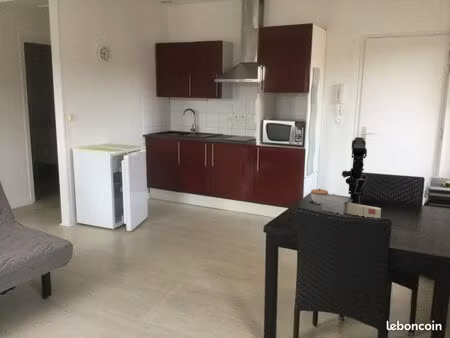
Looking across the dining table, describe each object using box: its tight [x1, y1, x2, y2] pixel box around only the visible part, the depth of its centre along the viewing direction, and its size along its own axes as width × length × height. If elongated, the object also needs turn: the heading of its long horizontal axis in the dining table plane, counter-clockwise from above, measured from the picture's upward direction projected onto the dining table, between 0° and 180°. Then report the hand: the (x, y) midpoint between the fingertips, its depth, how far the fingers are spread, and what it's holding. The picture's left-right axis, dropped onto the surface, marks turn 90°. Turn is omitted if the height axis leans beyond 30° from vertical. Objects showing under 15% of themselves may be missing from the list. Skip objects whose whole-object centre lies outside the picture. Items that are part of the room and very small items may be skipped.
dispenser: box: [320, 194, 353, 216], centre depth 245 cm, size 11×15×8 cm
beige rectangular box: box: [345, 203, 382, 219], centre depth 235 cm, size 3×19×6 cm, turn 51°
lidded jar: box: [310, 188, 329, 205], centre depth 263 cm, size 11×11×9 cm
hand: (355, 192), depth 241 cm, fingers open, 9 cm apart
